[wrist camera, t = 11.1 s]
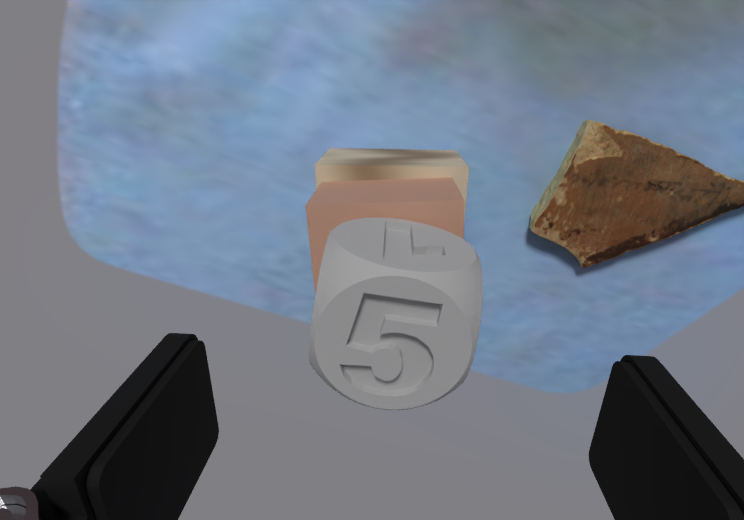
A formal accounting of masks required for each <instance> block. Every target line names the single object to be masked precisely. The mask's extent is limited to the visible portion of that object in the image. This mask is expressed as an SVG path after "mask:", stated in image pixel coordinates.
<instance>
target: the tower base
mask: <svg viewBox="0 0 744 520" xmlns="http://www.w3.org/2000/svg"><path fill="white" fill-rule="evenodd" d="M468 174H469V167H468V165H467V164H466V163H465V162H464V160H463V159H462V158H461V156H460V155H459V154H458V153H457V151H456V150H409V149H352V148H329V150H328V151H327V152H326V153H325V154H324V155H323V156H322V157H321V159H320V160H319V161H318V162H317V163H316V164H315V177H316V190H317V188H318V187H319V185H320V184H321V182H334V181H361V180H387V179H414V178H441V177H452V178H453V180H454V182H455V183H456V185H457V187H458V189H459V191H460V192H461V194H462V196H463V198H464V200H465V205H464V217H465V206H466V196H467V185H468Z"/></svg>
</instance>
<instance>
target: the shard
mask: <svg viewBox="0 0 744 520" xmlns="http://www.w3.org/2000/svg"><path fill="white" fill-rule="evenodd" d="M742 206H744V182H743V181H740V180H736V179H733V178H730V177H727V176H726V175H723V174H721V173H718V172H716V171H714V170H712V169H710V168H708V167H706V166H704V165H703V164H702V163H700V162H699V161H697V160H695V159H692V158H690V157H688V156H685V155H682V154H680V153H678V152H676V151H674V150H673V149H671V148H669V147H667V146H663V145H662V144H660V143H654V142H652V141H650V140H649V139H648V138H643V137H641V136H639V135H636V134H634V133H631V132H628V131H625V130H615V129H613V128H611V127H609V126H607V125H605V124H603V123H602V122H594V121H592V120H587V121H585V122H583V123H582V125H581V127H580V129H579V130H578V133H577V135H576V137H575V139H574V141H573V143H572V145H571V147H570V148H569V150H568V152H567V154H566V156H565V158H564V160H563V162H562V165H561V167H560V168H559V170H558V173H557V174H556V176H555V177H554V178H553V180H552V181H551V183H550V184H549V186H548V187H547V189H546V190H545V192H544V193H543V195H542V197H541V199H540V201H539V203H538V204H537V205H536V207H535V208H534V209H533V211H532V214H531V220H530V225H529V227H530V230H531V231H532V232H533V233H535V234H537V235H539V236H541V237H543V238H546V239H549V240H550V241H553V242H555V243H556V244H559V245H561V246H562V247H564V248H566V249H567V250H568V251H569V252H571V253H572V254H573V255H574V256H575V257H576V259H577V260H578V262H579V263H580V265H581V267H582V268H586V267H589V266H591V265H593V264H598V263H601V262H602V261H605V260H610V259H613V258H615V257H618V256H620V255H622V254H624V253H625V252H627V251H630V250H636V249H639V248H642V247H644V246H647V245H649V244H651V243H654V242H657V241H660V240H664V239H667V238H669V237H672V236H674V235H676V234H678V233H682V232H684V231H686V230H688V229H691V228H694V227H696V226H698V225H700V224H702V223H705V222H707V221H709V220H711V219H714V218H716V217H718V216H719V215H721V214H724V213H726V212H728V211H731V210H734V209H737V208H740V207H742Z"/></svg>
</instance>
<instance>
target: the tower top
mask: <svg viewBox="0 0 744 520" xmlns="http://www.w3.org/2000/svg"><path fill="white" fill-rule="evenodd" d="M464 205H465V200H464V198H463V196H462V194H461V192H460V191H459V189H458V187H457V185H456V183H455V182H454V180H453V178H452V177H441V178H414V179H387V180H361V181H334V182H321V184H320V185H319V187H318V188H317V190H316V191H315V192H314V194H313V195H312V197H311V198H310V200H309V201H308V203H307V204H306V213H307V222H308V232H309V241H310V250H311V259H312V268H313V278H314V287H315V296H316V290H317V284H318V278H319V273H320V267H321V263H322V258H323V254H324V249H325V246H326V242H327V239H328V236H329V233H330V231H331V230H333V229H334V228H335V227H337V226H338V225H340V224H341V223H344V222H346V221H350V220H354V219H360V218H394V219H403V220H409V221H414V222H419V223H423V224H427V225H431V226H434V227H437V228H440V229H443V230H445V231H448V232H450V233H452V234H454V235H456V236H458V237H460V238H462V239H463V236H464Z"/></svg>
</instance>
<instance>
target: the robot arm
mask: <svg viewBox="0 0 744 520" xmlns="http://www.w3.org/2000/svg"><path fill="white" fill-rule="evenodd" d="M218 433H219V428H218V422H217V415H216V410H215V403H214V398H213V392H212V385H211V380H210V373H209V368H208V362H207V356H206V350H205V345H204V343H203V342H202V341H198V339H197V337H196V335H194V334H178V333H169V334H167V335H166V336H165V337H164V338H163V339H162V341H161V342H160V343H159V344H158V345H157V346H156V347H155V348H154V349H153V351H152V352H151V353H150V354H149V355H148V356H147V357H146V359H145V360H144V361H143V362H142V363H141V364H140V365H139V367H137V369H136V370H135V371H134V372H133V373H132V374H131V375H130V376H129V378H128V379H127V380H126V381H125V382H124V383H123V384H122V385H121V386H120V387H119V389H118V390H117V391H116V392H115V393H114V394H113V395H112V396H111V397H110V399H109V400H108V401H107V402H106V403H105V404H104V405H103V406H102V408H101V409H100V410H99V411H98V412H97V413H96V414H95V415H94V416H93V418H92V419H91V420H90V421H89V422H88V423H87V424H86V425H85V427H84V428H83V429H82V430H81V431H80V432H79V433H78V434H77V435H76V437H75V438H74V439H73V440H72V441H71V442H70V443H69V444H68V446H67V447H66V448H65V449H64V450H63V451H62V452H61V453H60V454H59V456H58V457H57V458H56V459H55V460H54V461H53V462H52V463H51V464H50V466H49V467H48V468H47V469H46V470H45V471H44V472H43V473H42V475H41V476H40V477H41V479H40V480H39V481H38V482H37V483H36V484H35V485H34V486H33V487H32V489H31V490H29V489H27V488H22V487H8V488H1V489H0V520H178V518H179V516H180V514H181V512H182V510H183V508H184V506H185V504H186V502H187V500H188V498H189V496H190V494H191V493H192V490H193V489H194V487H195V484H196V483H197V481H198V479H199V477H200V475H201V473H202V471H203V469H204V467H205V465H206V463H207V461H208V459H209V457H210V455H211V453H212V451H213V449H214V447H215V445H216V442H217V439H218ZM589 462H590V466H591V469H592V471H593V473H594V475H595V478H596V480H597V482H598V484H599V486H600V488H601V491H602V493H603V495H604V497H605V499H606V502H607V504H608V506H609V508H610V510H611V512H612V514H613V517H614V519H615V520H744V460H743V458H742V457H741V456H740V455H739V453H738V452H737V451H736V450H735V449H734V448H733V446H732V445H731V444H730V443H729V442H728V441H727V439H726V438H725V437H724V436H723V435H722V434H721V433H720V431H719V430H718V429H717V428H716V427H715V426H714V424H713V423H712V422H711V421H710V420H709V419H708V418H707V416H706V415H705V414H704V413H703V412H702V411H701V409H700V408H699V407H698V406H697V405H696V404H695V402H694V401H693V400H692V399H691V398H690V396H689V395H688V394H687V393H686V392H685V391H684V389H683V388H682V387H681V386H680V385H679V384H678V383H677V381H676V380H675V379H674V378H673V377H672V376H671V374H670V373H669V372H668V371H667V370H666V369H665V367H664V366H663V365H662V364H661V363H660V362H659V361H658V359H656V358H655V357H651V356H633V355H626V356H623V358H622V359H621V361H617V362H615V363H614V364H613V366H612V370H611V373H610V377H609V381H608V384H607V388H606V392H605V396H604V399H603V403H602V406H601V410H600V414H599V417H598V421H597V425H596V428H595V432H594V436H593V439H592V443H591V446H590V450H589Z"/></svg>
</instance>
